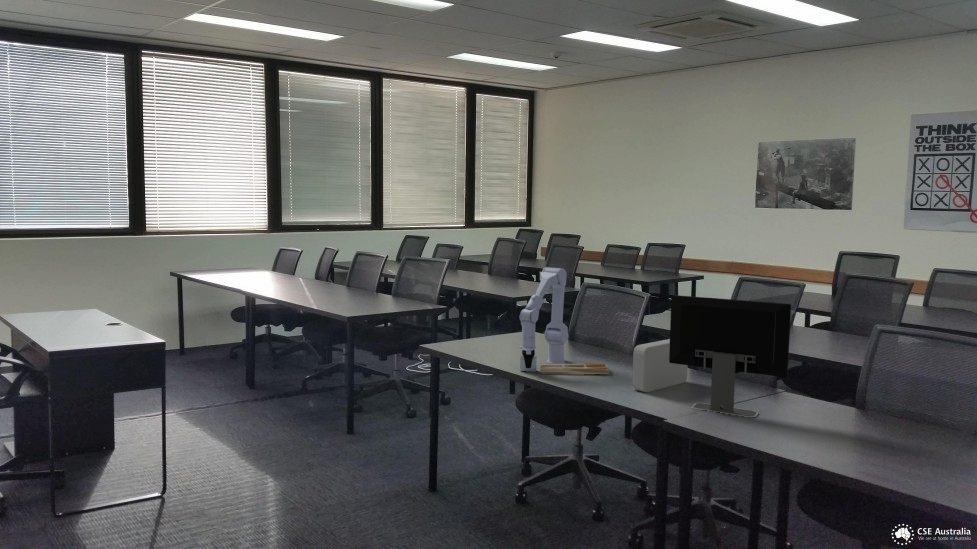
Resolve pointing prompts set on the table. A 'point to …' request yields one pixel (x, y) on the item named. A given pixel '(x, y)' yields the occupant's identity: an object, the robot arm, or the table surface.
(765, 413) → the table surface
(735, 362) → the computer monitor
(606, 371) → the rack
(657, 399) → the table surface
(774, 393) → the table surface
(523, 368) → the brushed gray metal block
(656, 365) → the rounded white slab
